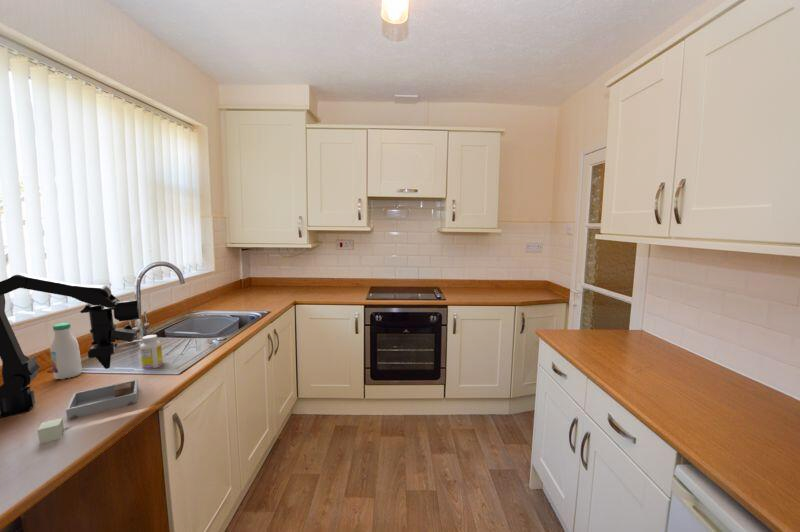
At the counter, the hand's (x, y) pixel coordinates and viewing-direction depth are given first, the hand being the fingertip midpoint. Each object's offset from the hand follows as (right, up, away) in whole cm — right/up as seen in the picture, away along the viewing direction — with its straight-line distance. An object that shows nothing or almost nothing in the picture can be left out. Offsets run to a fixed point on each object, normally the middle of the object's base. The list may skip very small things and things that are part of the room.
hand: (107, 368), depth 116 cm
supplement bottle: (+1, -6, +20) cm, 21 cm away
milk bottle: (-26, -7, +14) cm, 30 cm away
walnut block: (+10, -8, -5) cm, 14 cm away
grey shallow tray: (+6, -9, -7) cm, 13 cm away
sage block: (+5, -12, -24) cm, 27 cm away
